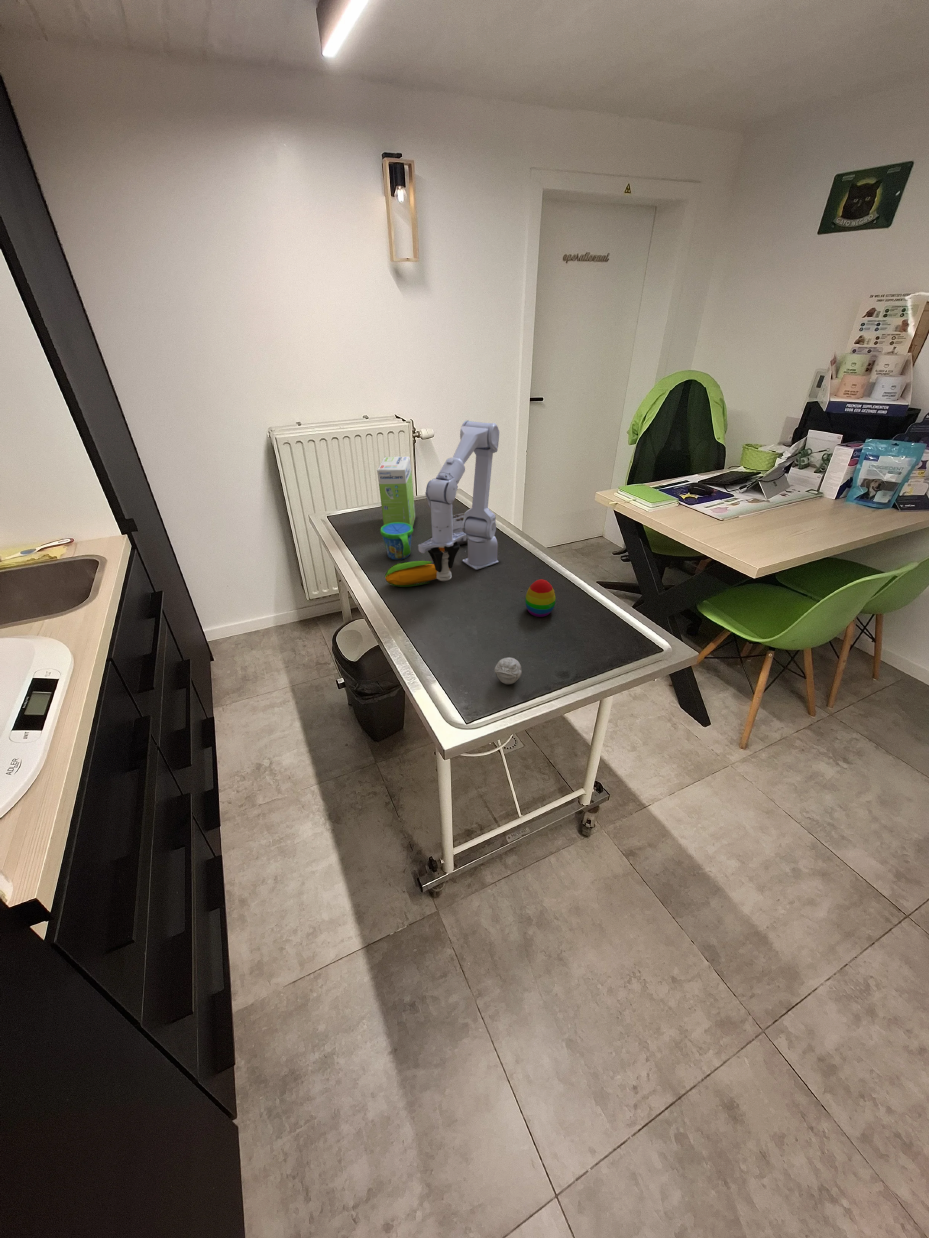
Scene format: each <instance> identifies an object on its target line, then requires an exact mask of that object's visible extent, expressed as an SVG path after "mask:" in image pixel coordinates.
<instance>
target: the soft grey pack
mask: <svg viewBox="0 0 929 1238" xmlns="http://www.w3.org/2000/svg"><path fill="white" fill-rule="evenodd" d="M464 514H465V512H464V513H456V514H453V533H460V532H462V522H463V519H464ZM457 544H459V545H466V544H468V539H467V538H466V541H458V542H457Z"/></svg>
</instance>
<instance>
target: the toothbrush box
mask: <svg viewBox="0 0 929 1238" xmlns="http://www.w3.org/2000/svg"><path fill="white" fill-rule="evenodd" d="M376 473H377V479H378V488H379V489H378V490H379V498H380V507H381V514H382V521H383V526H384V525H386V524H388V523H393V522H403V523H408V524H410V525H411V526H412V528H413V527H414V524H415V521H416V508H415V507H416V506H415V498H414V497H415V496H414V486H413V474H412V463H411V456H384V457H383V459H382V461H381V462H380V464H379V466H378V468H377V469H376ZM413 529H414V528H413Z"/></svg>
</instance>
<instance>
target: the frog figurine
mask: <svg viewBox="0 0 929 1238" xmlns="http://www.w3.org/2000/svg"><path fill="white" fill-rule="evenodd" d="M520 663H521V662H520V661H518V660H517V658H516V659H515V658H514V657H504V658H501V659H499V661H498V662H497V663H496V665H495V667H494V673H495V674H496V677H497V679H498V680H499V681H500V682H501V683H502V684H504V685H513V684H515V683H516V682H517V681H519V679H520V677H521V676H522V665H521V664H520Z"/></svg>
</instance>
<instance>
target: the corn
mask: <svg viewBox="0 0 929 1238" xmlns="http://www.w3.org/2000/svg"><path fill="white" fill-rule="evenodd" d="M449 569H450V568H449ZM450 570H451V569H450ZM437 572H438V571H437V570H436V569H435V565H434V563H433V561H431V560H414V561H413V560H412V561H404V562H403V561H402V562H399V563H395V564H393V565H391V566H390V567H389V568H388V569H387V570H386V571H385V575H384V578H385V581H386V582H387V583H388V584H389V585H390V586H393V587H397V588H409V587H417V586H423V585H426V584H430V583H431V581H434V580H438V579H437Z"/></svg>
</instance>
